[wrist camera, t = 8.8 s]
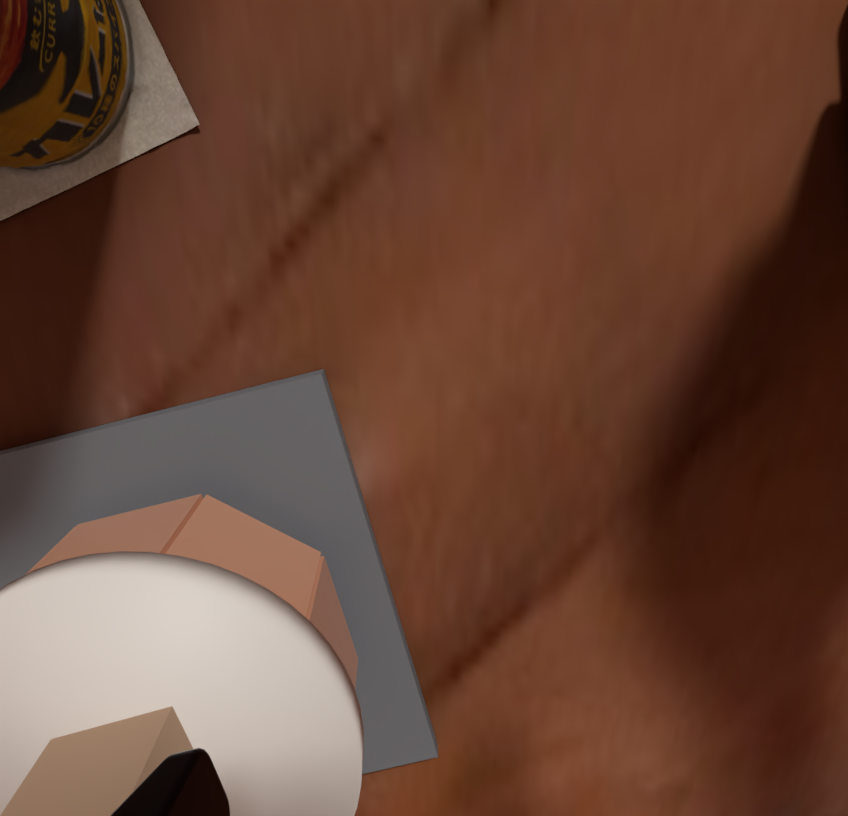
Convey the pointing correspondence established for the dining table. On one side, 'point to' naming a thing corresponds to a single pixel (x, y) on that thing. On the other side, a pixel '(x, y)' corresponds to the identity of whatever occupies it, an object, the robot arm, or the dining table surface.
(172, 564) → the lid
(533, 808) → the dining table surface
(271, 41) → the dining table surface
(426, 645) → the dining table surface
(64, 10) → the condiment
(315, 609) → the bowl
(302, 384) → the mat
